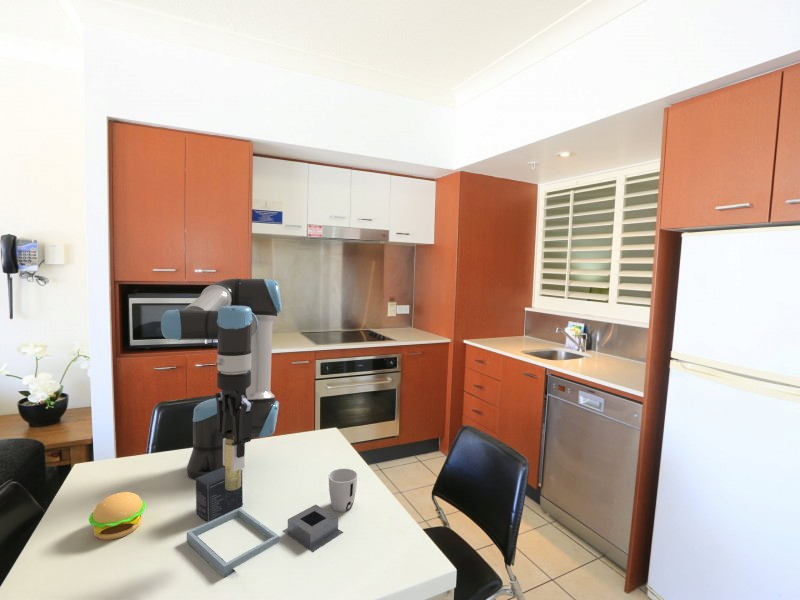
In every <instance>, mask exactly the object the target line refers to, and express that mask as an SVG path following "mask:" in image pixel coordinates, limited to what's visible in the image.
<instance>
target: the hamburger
mask: <svg viewBox="0 0 800 600" xmlns="http://www.w3.org/2000/svg"><path fill="white" fill-rule="evenodd" d="M146 509H147V504H146V502H144V501H143V500H142V498H141V497H140V495H138V494H137V493H134V492H130V491H121V492H116V493H113V494H110V495H108V496H106V497H105V498H103V499H102V500H101V501H100V502H98V504H97V505H96V506H95V508H94V509H93V512H91V513H90V515H89V518H88V522H89V524H90V525H91V526H93V527H94V528H93V534H94V536H95V537H96V538H97V539H99V540H103V541H107V540H115V539H120V538H123V537H125V536H128V535H129V534H131V533H133V532H134V531H135V530H136V529H138V528H139V527H140V525H141V523H142V521H143V520H142V519H143V517H142V514H143V512H144V511H145V510H146Z"/></svg>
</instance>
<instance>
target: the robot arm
mask: <svg viewBox="0 0 800 600" xmlns="http://www.w3.org/2000/svg"><path fill="white" fill-rule="evenodd" d="M280 290H281V288H280V285H279V282H278V281H277V280H275V279H268V278H267V279H266V278H238V277H237V278H234V277H233V278H227V279H223V280H220V281H216V282H215V283H211V284H209V285H208V286H206V287H205V288H204V289H203V290H202V292H201V293H200V295H199V297H197V298H196V299H195V300H193V301H192V302H191V303H190V304H188V305H187V306H186V307H184V308H183V309H177V308H175V309H168V310H165V312H164V313H163V314H162V317H161V321H160V329H161V334H162V336H163V337H164V338H165V339H167V340H174V341H175V340H177V341H195V340H196V341H197V340H198V341H199V340H201V341H204V340H205V341H207V340H213V341H215V340H217V352H216V353H217V359H216V360H215V362H216V363H217V367H216V368H217V370H218V372H217V374H216V387H217V388H218V389H219V390H221V392H216V393H215V397H214V398H210V399H206V400H204V401H202V402H200V403H198V404H197V405H196V406H195V407H194V409H193V412H192V413H193V418H192V451H191V454H190V456H189V457H190V458H189V460H188V462H187V465H186V474H187V477H188V478H190V479H192V480H195V481H196V478H198V477H200V476H203V475H205V474H208V473H210V472H213V471H215V470H218V469H220V468H223V467H225V439H226V438H227V437H229V436H234V443H232V471H233V472H234V471H237V470H240V469H241V470H243V469H244V468H245V455H246V454H245V453H246V449H245V448H246V447H245V446H246V443H247V444H248V443H249V442H251V441H252V439H253V438H255V439H257V438H258V439H261V438H268V437H272V436H273V434H274V433H275V430H276V425H277V420H278V414H279V413H278V412H279V408H280V407H279V406H280V403H279V401H278V400H275V399H276V396H275V394H273V393H272V391H271V384H272V380H271V378H272V353H273V351H272V350H273V349H272V347H273V323H274V321H276V319H278V314H280V313H282V311H283V310H282V308H283V307H282V299H281V297H282V296H281V291H280Z"/></svg>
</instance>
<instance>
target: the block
mask: <svg viewBox="0 0 800 600" xmlns="http://www.w3.org/2000/svg"><path fill="white" fill-rule="evenodd" d="M282 533H284V534H286V535H287V536H288V537H290V538H292V539H293V540H294V541H295V542H296V543H298V544H300V545H301V546H302V547H304V548H305V549H307V550H308V551H309V552H312V553H314V552H316V551H317V550H318V549H320V548H322V547H323V546H325V545H326V544H328V543H329V542H331V541H333V540H334V539H336V538H337V537H339V536H341V535H343V534H344V531H343V530H341V529H339V517H338V516H337V515H335V514H333V513H331V512H330V511H328V510H326V509H324V508H323V507H321V506H319V505H317V503H316V504H314V505H311V506H310V507H308V508H306V509H304V510H302V511H300V512H299V513H297V514H295V515H292V516H291V517H290V518H288V519H287V527H286V528H285V529H284V530H282Z"/></svg>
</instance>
